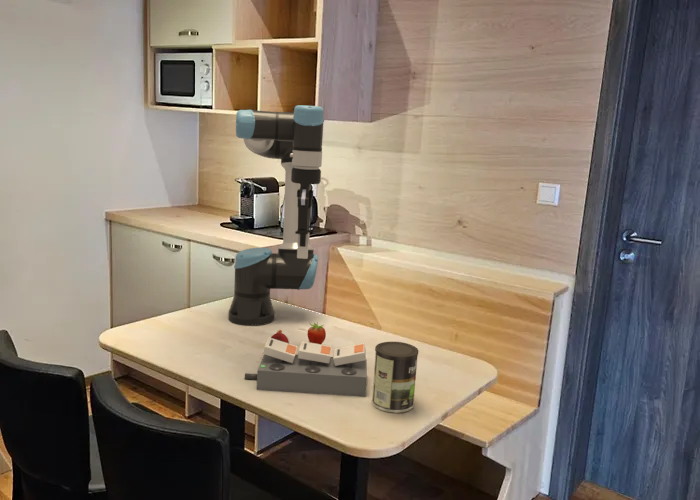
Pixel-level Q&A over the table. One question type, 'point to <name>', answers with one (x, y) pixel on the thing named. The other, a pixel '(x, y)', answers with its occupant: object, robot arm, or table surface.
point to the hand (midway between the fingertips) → (302, 257)
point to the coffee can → (394, 376)
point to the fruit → (316, 334)
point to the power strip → (311, 376)
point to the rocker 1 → (280, 350)
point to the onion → (280, 336)
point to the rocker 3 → (349, 354)
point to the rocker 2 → (315, 352)
